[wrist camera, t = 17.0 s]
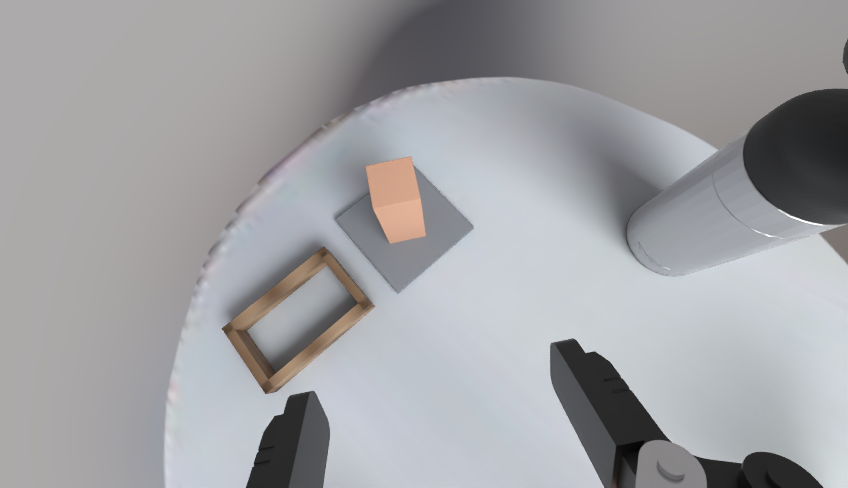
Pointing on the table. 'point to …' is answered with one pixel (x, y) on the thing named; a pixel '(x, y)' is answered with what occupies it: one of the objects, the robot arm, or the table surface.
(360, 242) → the slate mat
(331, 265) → the walnut cradle
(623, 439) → the robot arm
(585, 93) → the table surface
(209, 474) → the table surface
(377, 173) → the terracotta block
